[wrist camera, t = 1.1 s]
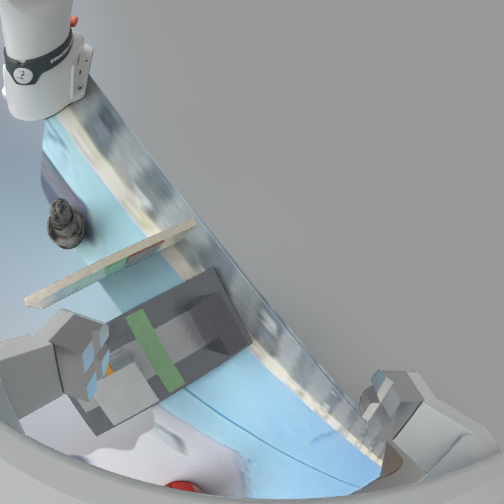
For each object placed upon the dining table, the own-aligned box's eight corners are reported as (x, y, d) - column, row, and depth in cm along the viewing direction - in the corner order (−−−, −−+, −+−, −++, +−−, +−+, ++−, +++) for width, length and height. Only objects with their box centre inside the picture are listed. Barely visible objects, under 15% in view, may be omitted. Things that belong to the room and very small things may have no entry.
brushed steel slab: (110, 396, 35) (114, 425, 24) (80, 345, 34) (70, 357, 24) (144, 378, 38) (159, 400, 27) (114, 326, 38) (117, 331, 27)
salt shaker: (91, 221, 40) (88, 190, 30) (77, 256, 38) (68, 236, 28) (59, 208, 38) (48, 174, 28) (45, 243, 36) (27, 218, 26)
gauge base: (96, 433, 34) (96, 461, 25) (25, 310, 33) (4, 309, 24) (249, 342, 49) (282, 346, 40) (191, 229, 48) (212, 210, 39)
